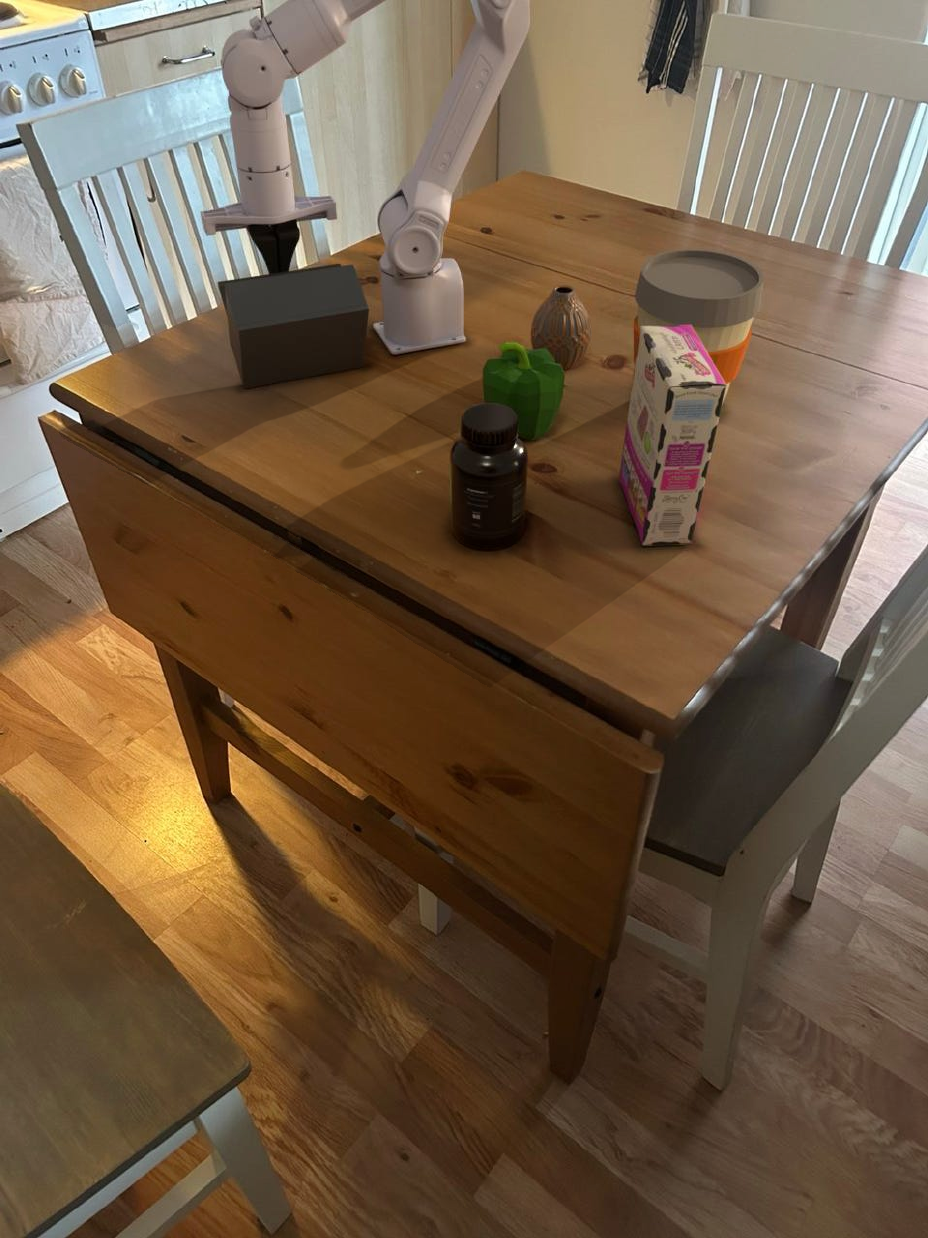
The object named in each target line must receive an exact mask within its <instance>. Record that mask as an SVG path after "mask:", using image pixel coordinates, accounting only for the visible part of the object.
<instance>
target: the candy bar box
mask: <svg viewBox="0 0 928 1238" xmlns="http://www.w3.org/2000/svg"><path fill="white" fill-rule="evenodd" d="M726 386H727V385H726V383H725V381H724V379H723V378H722V376H721V374H720V373H719V371H718V370H717V368H716V366H715V365H714V363H713V361H712V359H711V358H710V356H709V354H708V352H707V351H706V349H705V347H704V346H703V344H702V342H701V340H700V339H699V337H698V335H697V334H696V332H695V330H694V328H693V327H692V325H661V326H641V327H640V337H639V344H638V352H637V358H636V365H635V364H634V372H633V377H632V385H631V391H630V399H629V400H630V401H629V406H628V413H627V420H626V427H625V432H624V439H623V446H622V453H621V461H620V469H619V475H618V481H619V484H620V487H621V489H622V492H623V495H624V498H625V501H626V503H627V506H628V509H629V512H630V515H631V518H632V520H633V522H634V526H635V529H636V531H637V534H638V536H639V537H638V538H639V540H640V543H641V545H642V546H643V547H653V546H655V547H657V546H682V545H683V546H684V545H685V546H686V545H692V543H693V540H694V539H693V538H694V533H695V529H696V524H697V519H698V515H699V512H700V507H701V502H702V498H703V497H702V496H703V493H704V487H705V483H706V478H707V475H708V474H707V473H708V469H709V464H710V461H711V457H712V451H713V447H714V443H715V439H716V435H717V430H718V425H719V420H720V418H721V417H720V416H721V411H722V407H723V404H724V402H723V398H724V394H725V389H726ZM722 403H723V404H722Z"/></svg>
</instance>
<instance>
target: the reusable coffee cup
mask: <svg viewBox="0 0 928 1238" xmlns="http://www.w3.org/2000/svg"><path fill="white" fill-rule="evenodd" d="M763 287H764V275H763V273H762V271H761V270H760V268H758V266H756V264H753V263H752V262H750V261H749V260H747V259H745V258H742V257H740V256H737V255H734V254H732V253H726V252H723V251H718V250H712V249H702V248H701V249H700V248H683V249H682V248H681V249H673V250H667V251H663V252H659V253H656V254H654V255H652V256H650V257H648V258H647V259H646V260H644V262H643V263H642V265H641V269H640V272H639V276H638V281H637V284H636V288H635V294H634V299H635V302H636V303H637V315H636V316H635V318H634V320H633V321H634V322H633V363H634V366H635V365H636V358H637V352H638V344H639V337H640V327H641V326H661V325H692V327H693V328H694V330H695V332H696V334H697V335H698V337H699V339H700V340H701V342H702V344H703V346H704V347H705V349H706V351H707V352H708V354H709V356H710V358H711V359H712V361H713V363H714V365H715V366H716V368H717V370H718V371H719V373H720V374H721V376H722V378H723V379H724V381H725V383H726V385H727V386H726V389H725V394H724V398H723V403H722V405H724V402H725V399H726V396H727V393H728V390H729V388H730V384H731V382H733V381H734V380H735V379H736V378H737V376H738V373H739V371H740V369H741V367H742V363H743V360H744V358H745V355H746V352H747V350H748V347H749V344H750V341H751V338H752V334H753V331H752V328H751V327H752V323H753V321H754V318H755V316H756V315H758V314H759V312H760V310H761V306H762V297H763Z"/></svg>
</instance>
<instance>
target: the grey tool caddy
mask: <svg viewBox="0 0 928 1238" xmlns="http://www.w3.org/2000/svg"><path fill="white" fill-rule="evenodd" d="M217 288H218V291H219V292H218V293H219V294H220V296H221V301H222V304H223V307H224V311H225V313H226V317H227V325H228V334H229V335H228V336H229V345H230V349H231V351H232V354H233V359H234V362H235V364H236V367H237V371H238V375H239V378H240V381H241V384H242V388H243V389H249V388H255V387H260V386H266V385H271V384H277V383H282V382H288V381H293V380H299V379H304V378H310V377H316V376H320V375H321V376H322V375H327V374H333V373H337V372H342V371H348V370H354V369H361V368H364V362H365V361H364V360H365V352H366V351H365V350H366V342H367V334H368V333H367V331H368V324H369V313H370V307H369V305H368V301H367V299H366V297H365V294H364V291H363V288H362V285H361V282H360V280H359V277H358V274H357V271H356V269H355V266H354V264H353V263H352V264H347V265H346V264H345V265H342V264H341V263H333V264H327V265H319V266H314V267H313V266H312V267H307V268H300V269H295V270H294V269H293V270H289V271H286V272H280V273H273V274H269V273H267V274H261V275H254V276H248V277H241V278H240V277H239V278H234V279H227V280H221V281H217Z"/></svg>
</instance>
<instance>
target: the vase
mask: <svg viewBox="0 0 928 1238" xmlns="http://www.w3.org/2000/svg"><path fill="white" fill-rule="evenodd" d="M591 335H592V325H591V319H590V316H589V313H588V311H587V309H586V307H585V306H584V304H583V303H582V301H581V300H580V299H579V297H578V295H577V292H576V290H575V288H574V287H572V286H571V285H567V284H559V285H556V286H554V287H553V289H552V290H551V292H550V294H549V296H548V297H546V299H545V300H544V301H543V302H542V303H541V304H540V305H539V307H538V308H537V310H536V311H535V314H534V315H533V319H532V321H531V325H530V343H531V348H532V350H535V349H542V348H546V349H547V350H548V351H549V353H550V354H551V355H552V356H553V358H554V360H555V363H557V364H561V366H562V369H563V370H565V369H569V368H572V367H573V366H575V365H576V364H578V363H579V362H580V361H581V360H582V359H583V358H584V356H585V355H586V353H587V351H588V348H589V345H590V341H591V337H592V336H591Z"/></svg>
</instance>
